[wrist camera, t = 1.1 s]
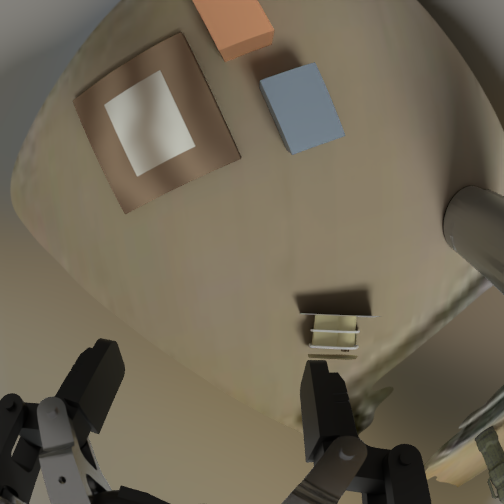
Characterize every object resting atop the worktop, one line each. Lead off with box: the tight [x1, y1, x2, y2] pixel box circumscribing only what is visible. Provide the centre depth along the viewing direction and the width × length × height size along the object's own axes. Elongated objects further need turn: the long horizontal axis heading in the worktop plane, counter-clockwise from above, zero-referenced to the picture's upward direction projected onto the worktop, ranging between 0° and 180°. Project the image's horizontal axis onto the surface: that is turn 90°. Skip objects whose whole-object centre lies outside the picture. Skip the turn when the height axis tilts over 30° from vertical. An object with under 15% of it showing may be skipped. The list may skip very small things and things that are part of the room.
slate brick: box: [259, 62, 345, 155], centre depth 24 cm, size 5×7×5 cm
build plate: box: [73, 32, 241, 214], centre depth 26 cm, size 14×15×1 cm
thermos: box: [475, 427, 504, 504], centre depth 47 cm, size 9×12×35 cm
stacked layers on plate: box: [300, 313, 380, 360], centre depth 36 cm, size 10×9×6 cm
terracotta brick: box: [192, 0, 274, 62], centre depth 20 cm, size 5×7×5 cm
